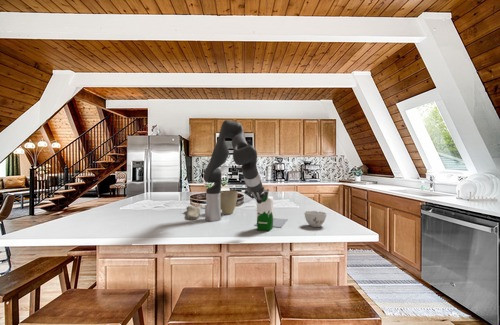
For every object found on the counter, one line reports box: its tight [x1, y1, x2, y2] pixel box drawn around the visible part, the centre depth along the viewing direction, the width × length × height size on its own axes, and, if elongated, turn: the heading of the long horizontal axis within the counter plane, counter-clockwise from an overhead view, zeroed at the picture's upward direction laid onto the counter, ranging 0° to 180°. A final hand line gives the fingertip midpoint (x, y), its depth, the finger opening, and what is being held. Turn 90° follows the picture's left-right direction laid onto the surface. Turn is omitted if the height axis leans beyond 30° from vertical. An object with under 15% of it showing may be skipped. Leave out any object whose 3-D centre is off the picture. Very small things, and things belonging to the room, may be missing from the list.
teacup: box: [303, 210, 327, 228], centre depth 155 cm, size 15×12×8 cm
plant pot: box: [221, 190, 239, 215], centre depth 192 cm, size 15×15×16 cm
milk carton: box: [256, 193, 274, 232], centre depth 147 cm, size 9×9×20 cm
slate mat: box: [254, 217, 288, 229], centre depth 163 cm, size 16×22×1 cm
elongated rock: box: [185, 205, 201, 221], centre depth 186 cm, size 35×5×10 cm
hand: (259, 202), depth 137 cm, fingers closed
